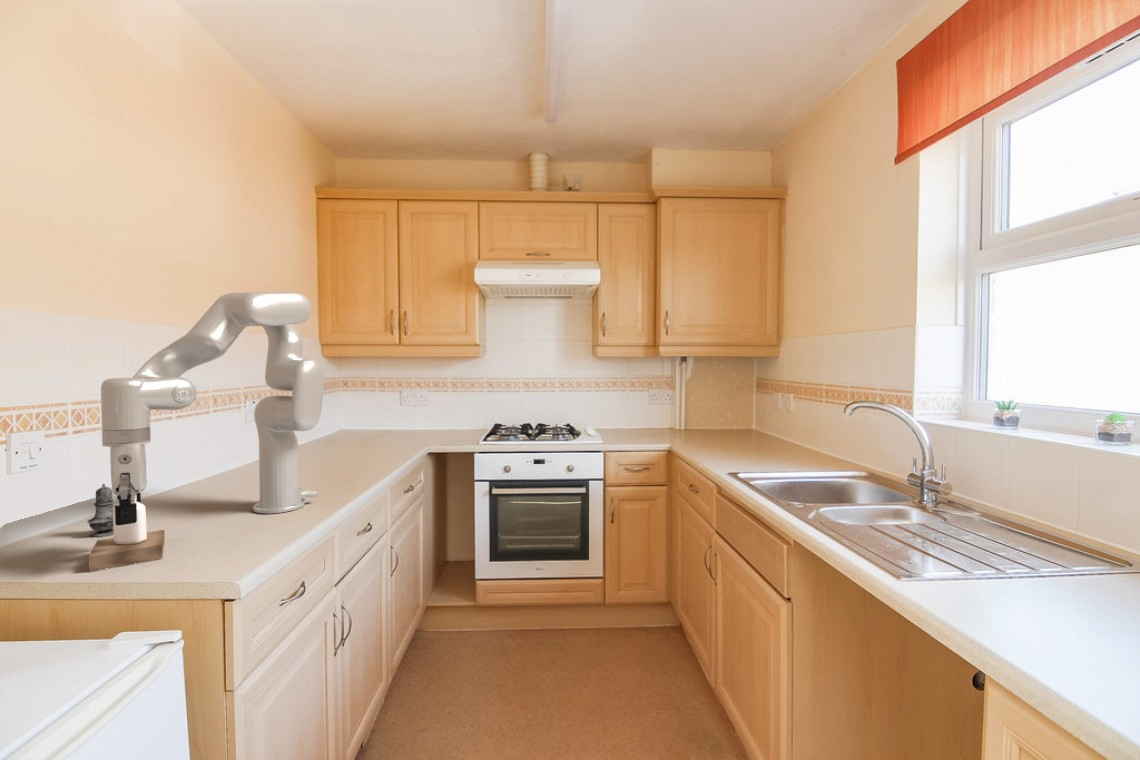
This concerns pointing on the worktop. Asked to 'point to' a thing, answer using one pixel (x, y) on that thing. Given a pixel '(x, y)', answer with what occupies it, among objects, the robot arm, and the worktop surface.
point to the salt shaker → (103, 513)
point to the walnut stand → (126, 551)
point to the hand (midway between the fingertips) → (128, 517)
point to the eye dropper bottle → (131, 528)
